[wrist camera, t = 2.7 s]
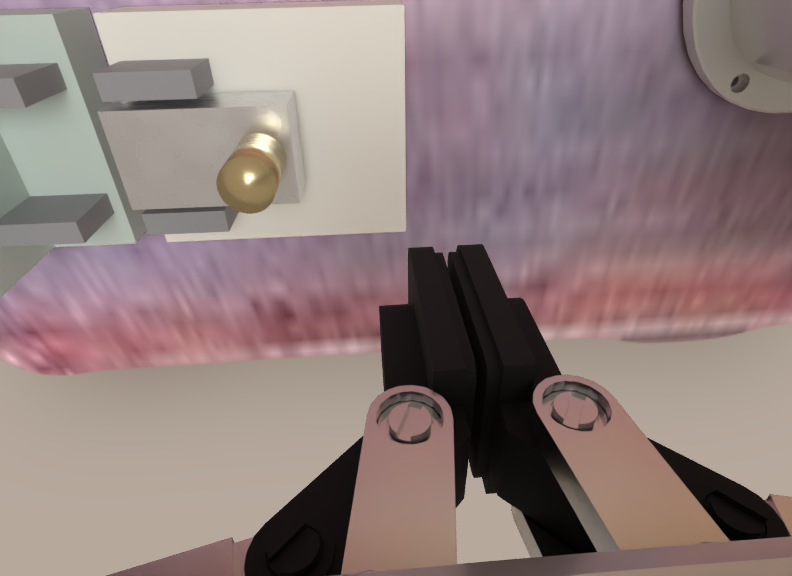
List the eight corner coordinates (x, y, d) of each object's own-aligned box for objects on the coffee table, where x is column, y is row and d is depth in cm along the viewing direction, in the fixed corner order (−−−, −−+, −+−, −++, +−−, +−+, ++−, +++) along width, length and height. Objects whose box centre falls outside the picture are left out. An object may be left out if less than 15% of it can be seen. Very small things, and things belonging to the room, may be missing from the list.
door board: (399, -1, 21) (409, 10, 17) (402, 206, 27) (410, 256, 23) (124, 6, 21) (58, 19, 16) (185, 215, 27) (148, 268, 22)
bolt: (293, 90, 20) (274, 128, 16) (305, 180, 23) (291, 236, 18) (124, 96, 20) (54, 135, 16) (153, 186, 22) (100, 245, 18)
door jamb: (88, 7, 21) (-37, 29, 14) (157, 216, 27) (89, 302, 20) (-30, 10, 21) (-213, 34, 14) (64, 220, 26) (-35, 308, 20)
